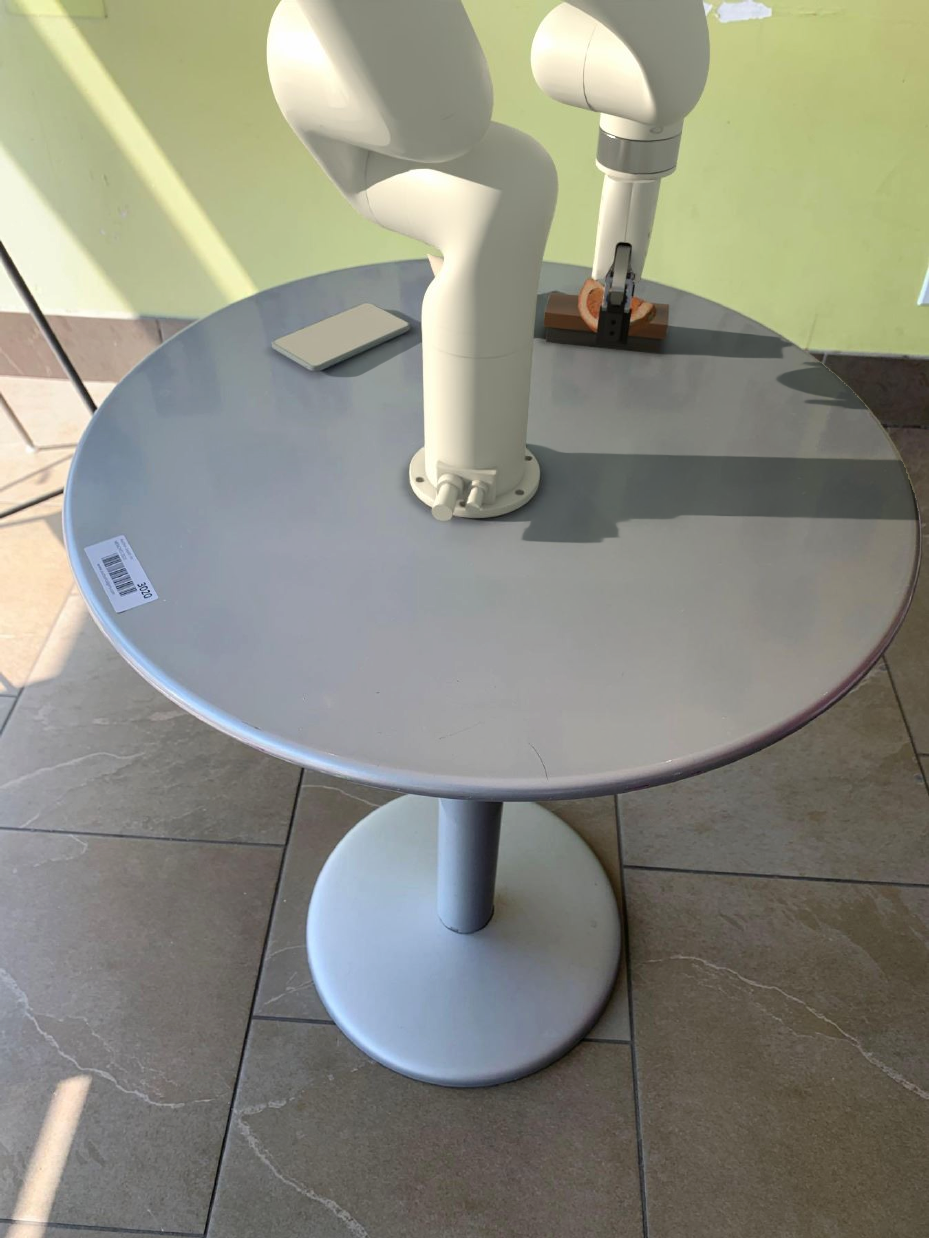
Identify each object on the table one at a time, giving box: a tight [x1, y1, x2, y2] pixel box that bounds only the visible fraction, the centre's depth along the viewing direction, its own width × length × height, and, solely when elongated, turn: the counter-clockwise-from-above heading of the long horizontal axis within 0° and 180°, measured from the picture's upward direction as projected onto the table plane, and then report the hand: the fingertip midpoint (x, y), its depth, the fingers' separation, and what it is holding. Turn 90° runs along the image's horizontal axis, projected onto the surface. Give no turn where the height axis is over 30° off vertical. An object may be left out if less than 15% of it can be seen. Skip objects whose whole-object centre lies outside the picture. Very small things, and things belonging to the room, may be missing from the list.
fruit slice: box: [578, 277, 657, 335], centre depth 95 cm, size 8×7×5 cm
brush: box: [543, 292, 670, 354], centre depth 105 cm, size 5×14×6 cm, turn 79°
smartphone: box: [271, 302, 411, 373], centre depth 106 cm, size 8×1×15 cm
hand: (614, 324), depth 96 cm, fingers closed on fruit slice, 7 cm apart
